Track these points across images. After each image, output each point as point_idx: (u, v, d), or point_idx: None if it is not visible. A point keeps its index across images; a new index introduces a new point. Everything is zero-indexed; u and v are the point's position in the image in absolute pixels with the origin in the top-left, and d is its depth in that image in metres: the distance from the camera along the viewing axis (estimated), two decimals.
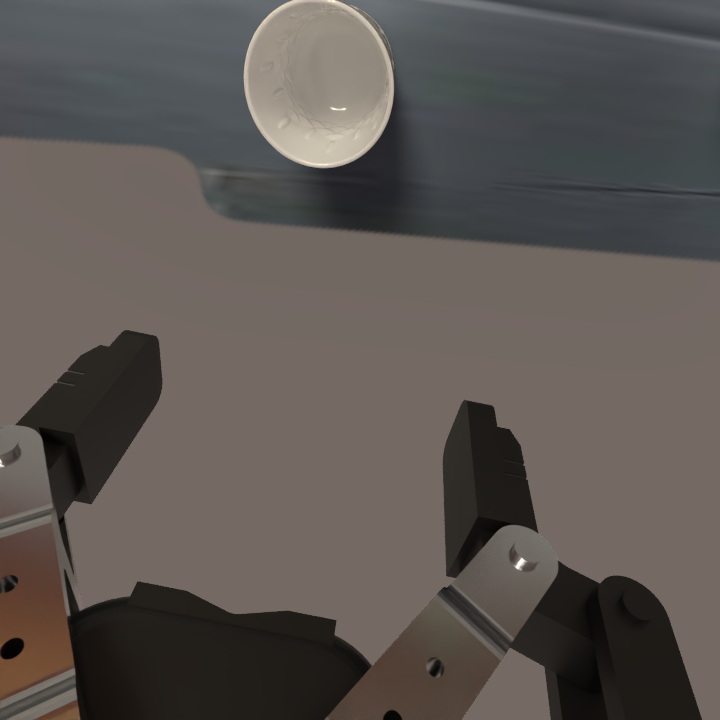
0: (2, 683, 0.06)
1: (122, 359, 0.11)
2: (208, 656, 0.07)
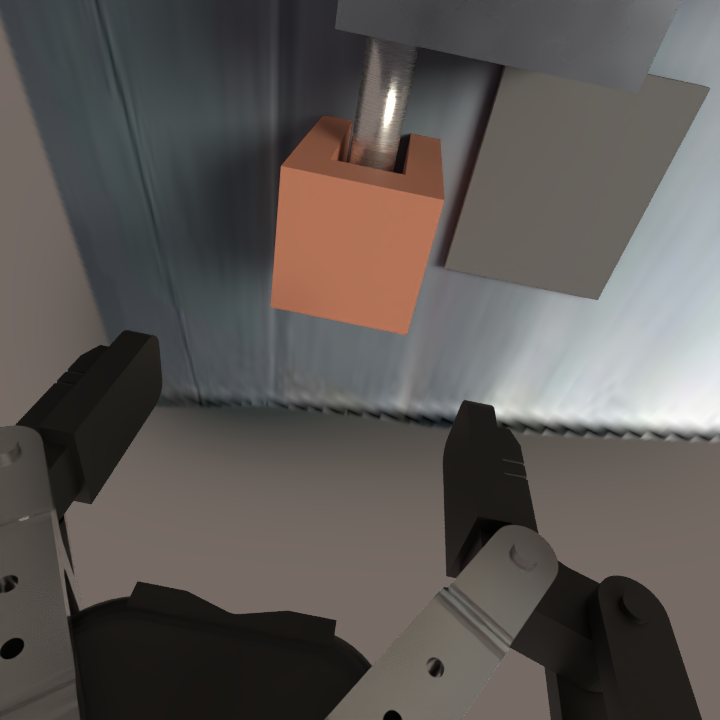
0: (2, 682, 0.06)
1: (122, 359, 0.11)
2: (208, 656, 0.07)
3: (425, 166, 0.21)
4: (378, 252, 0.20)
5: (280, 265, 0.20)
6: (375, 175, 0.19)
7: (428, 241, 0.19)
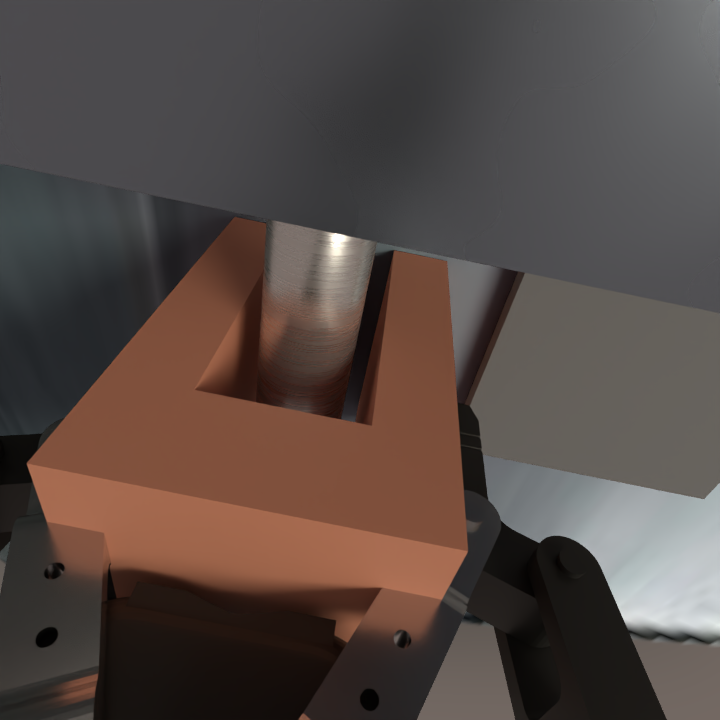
0: (32, 671, 0.06)
1: None
2: (208, 656, 0.07)
3: (419, 371, 0.10)
4: (305, 611, 0.08)
5: None
6: (292, 451, 0.08)
7: None
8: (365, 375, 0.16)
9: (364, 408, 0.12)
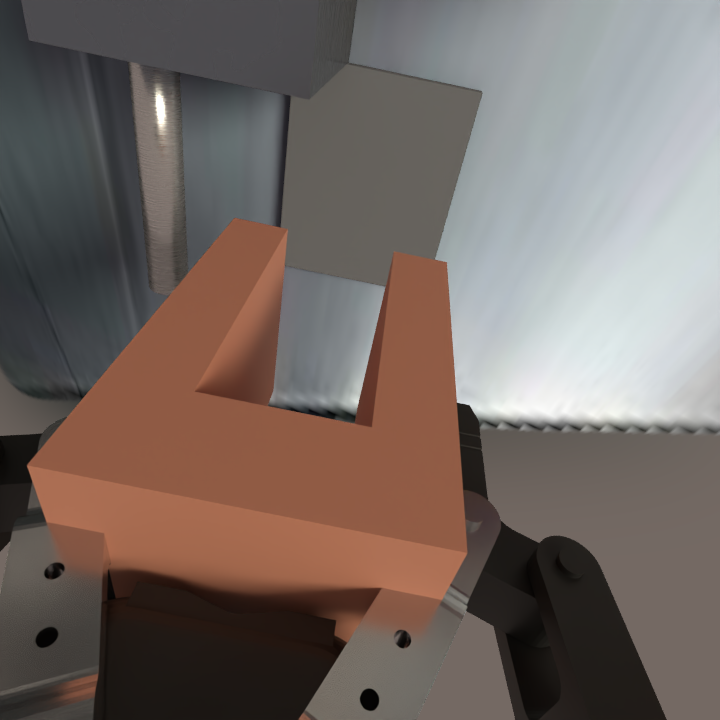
0: (32, 671, 0.06)
1: None
2: (208, 656, 0.07)
3: (418, 372, 0.10)
4: (305, 613, 0.08)
5: None
6: (292, 453, 0.08)
7: None
8: (365, 376, 0.16)
9: (364, 409, 0.12)
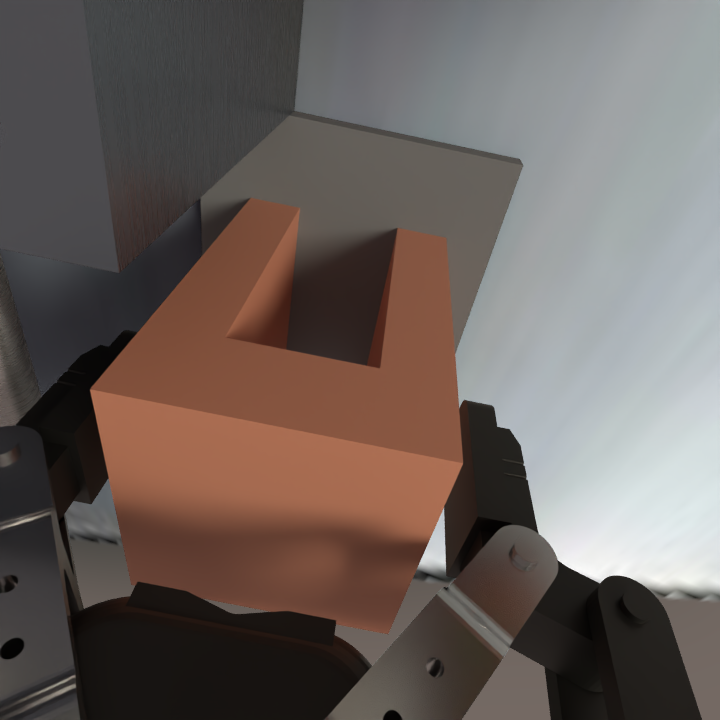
0: (2, 682, 0.06)
1: None
2: (208, 656, 0.07)
3: (421, 327, 0.11)
4: (323, 530, 0.09)
5: (134, 535, 0.10)
6: (312, 386, 0.09)
7: (427, 522, 0.09)
8: (371, 347, 0.18)
9: None
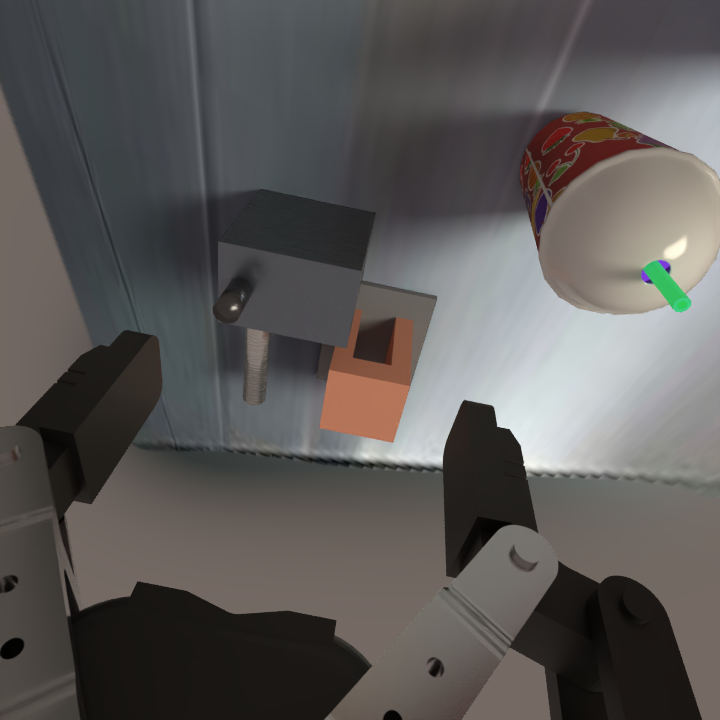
0: (3, 682, 0.06)
1: (122, 359, 0.11)
2: (208, 656, 0.07)
3: (402, 354, 0.39)
4: (377, 405, 0.38)
5: (326, 409, 0.39)
6: (375, 369, 0.37)
7: (403, 402, 0.37)
8: (386, 358, 0.46)
9: None
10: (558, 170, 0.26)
